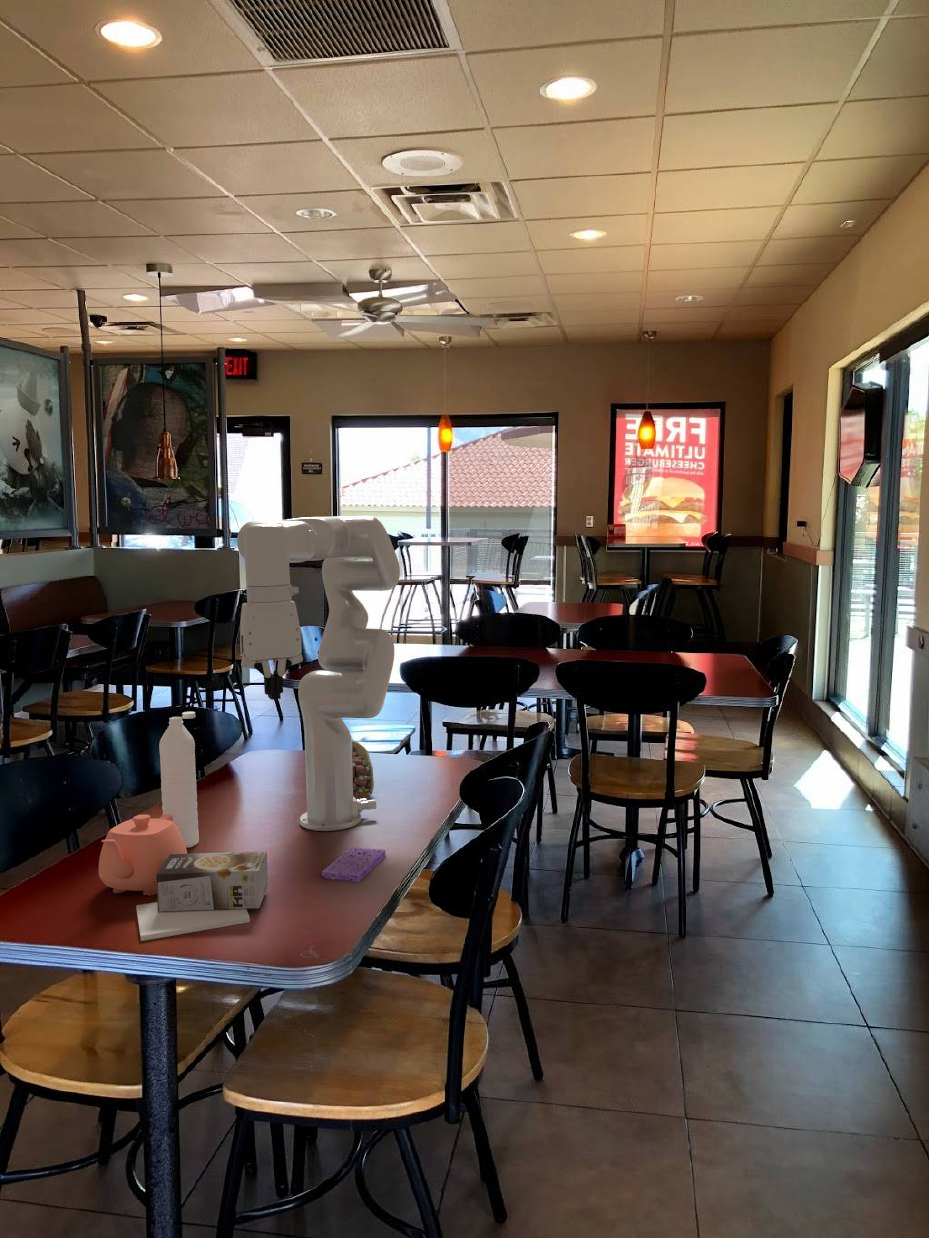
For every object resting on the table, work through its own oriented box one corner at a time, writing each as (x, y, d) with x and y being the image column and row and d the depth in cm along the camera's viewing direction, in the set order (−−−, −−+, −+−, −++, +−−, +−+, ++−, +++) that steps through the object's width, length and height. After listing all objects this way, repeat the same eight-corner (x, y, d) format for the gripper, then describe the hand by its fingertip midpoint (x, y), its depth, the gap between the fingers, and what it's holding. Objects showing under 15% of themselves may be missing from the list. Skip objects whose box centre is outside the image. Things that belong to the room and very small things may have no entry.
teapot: (71, 907, 150) (66, 834, 148) (140, 862, 169) (137, 798, 168) (144, 914, 147) (140, 840, 145) (206, 868, 166) (204, 802, 165)
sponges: (386, 859, 170) (385, 849, 170) (359, 884, 158) (358, 874, 158) (351, 855, 172) (350, 846, 172) (321, 880, 160) (321, 870, 160)
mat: (237, 893, 154) (237, 889, 154) (249, 922, 143) (249, 917, 143) (136, 910, 148) (136, 905, 148) (140, 941, 137) (140, 935, 137)
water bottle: (186, 851, 174) (180, 721, 172) (156, 848, 176) (150, 719, 174) (212, 836, 183) (206, 712, 180) (183, 833, 185) (178, 710, 182)
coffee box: (259, 870, 145) (154, 874, 144) (260, 909, 146) (156, 913, 145) (267, 849, 154) (169, 853, 153) (268, 886, 155) (171, 890, 154)
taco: (340, 770, 231) (339, 731, 230) (384, 798, 207) (383, 754, 206) (303, 776, 226) (302, 735, 225) (344, 805, 203) (343, 759, 202)
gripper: (305, 590, 167) (309, 689, 170) (221, 595, 161) (227, 698, 164) (316, 594, 160) (321, 697, 163) (229, 600, 154) (235, 707, 157)
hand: (274, 697), depth 163 cm, fingers closed
